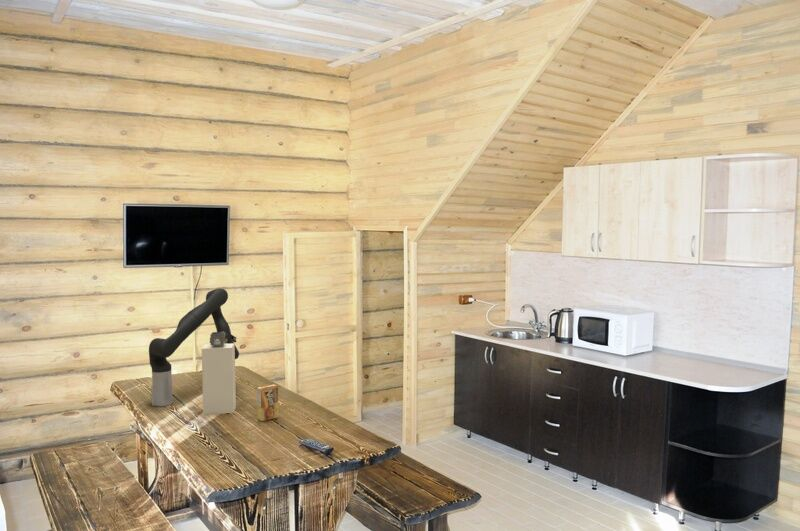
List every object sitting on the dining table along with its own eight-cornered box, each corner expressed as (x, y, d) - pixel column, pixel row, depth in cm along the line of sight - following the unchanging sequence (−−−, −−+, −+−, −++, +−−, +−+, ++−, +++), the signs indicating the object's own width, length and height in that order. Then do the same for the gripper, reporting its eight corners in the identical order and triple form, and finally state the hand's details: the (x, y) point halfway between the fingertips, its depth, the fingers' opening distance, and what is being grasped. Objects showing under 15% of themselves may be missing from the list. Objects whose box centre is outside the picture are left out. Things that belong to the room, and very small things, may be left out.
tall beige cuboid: (203, 414, 302) (201, 348, 299) (206, 408, 312) (205, 344, 309) (233, 413, 304) (231, 347, 301) (235, 406, 314) (234, 343, 311)
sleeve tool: (210, 345, 300) (210, 335, 300) (216, 337, 319) (216, 327, 319) (223, 345, 301) (223, 334, 301) (228, 337, 320) (228, 327, 320)
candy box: (274, 415, 301) (273, 383, 299) (278, 417, 297) (278, 385, 296) (257, 419, 295) (256, 387, 294) (261, 421, 292) (261, 389, 290)
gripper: (211, 338, 329) (206, 327, 313) (239, 337, 331) (235, 326, 315) (210, 352, 326) (205, 341, 310) (238, 351, 328) (234, 340, 312)
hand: (220, 334), depth 313 cm, fingers closed on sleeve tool, 3 cm apart
